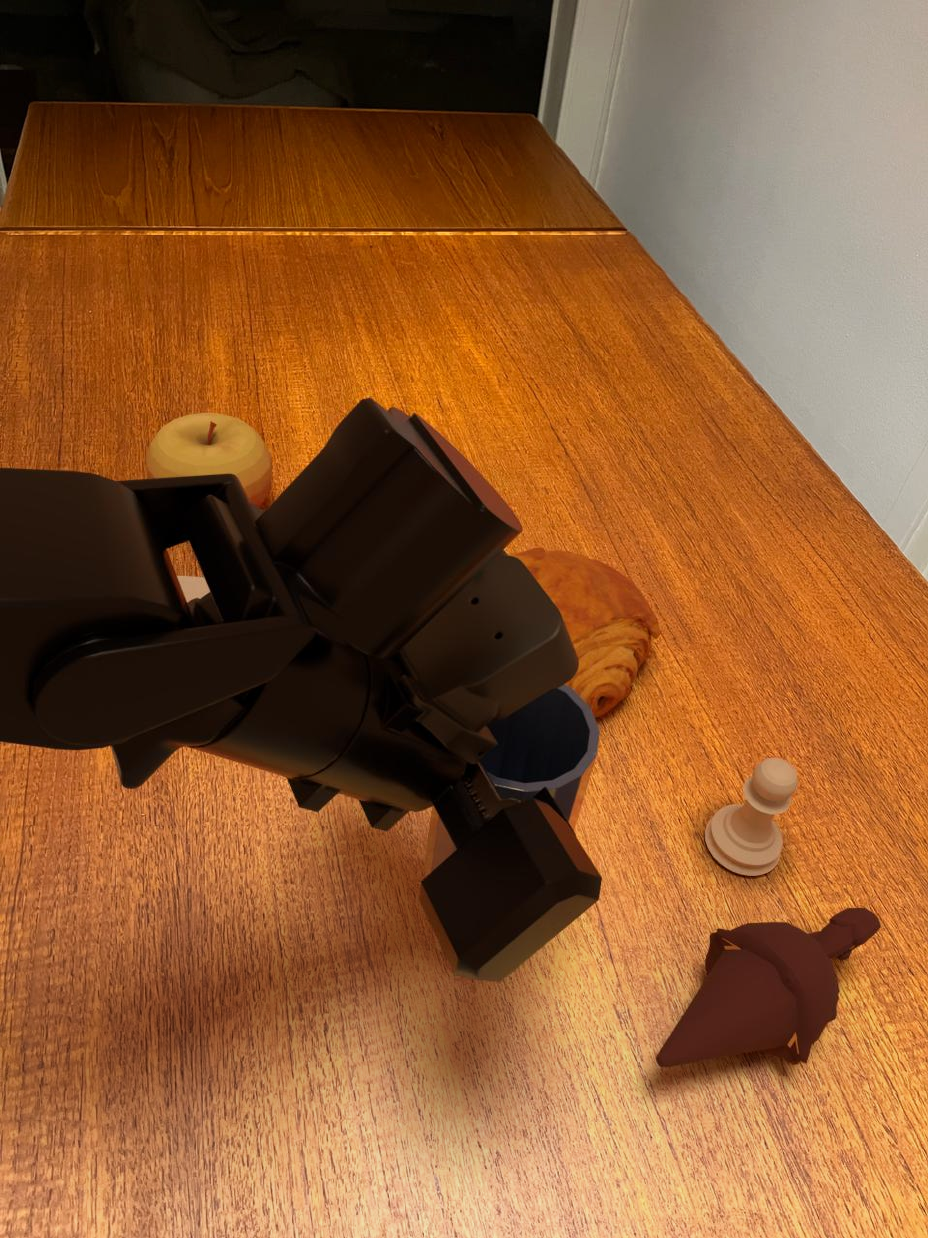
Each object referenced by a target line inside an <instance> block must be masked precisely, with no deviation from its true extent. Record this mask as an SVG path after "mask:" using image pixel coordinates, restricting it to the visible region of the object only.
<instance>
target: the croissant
mask: <svg viewBox="0 0 928 1238" xmlns="http://www.w3.org/2000/svg"><path fill="white" fill-rule="evenodd" d="M507 555H508V556H514V557H516V558H518V559H520V560H521V561H522V562H523V563H524V565H525V566H526V567H527V568H528V570H529V571H530V572H531V574H532V575H533V576H534V578H535V579H536V580H537V582H538V583H539V584H540V586H541V587H542V588H543V590H544V591H545V592H546V593H547V595H548V596H549V597H550V599H551V600H552V601H553V603H554V604H555V605H556V607H557V608H558V609H559V611H560V613H561V615H562V618H563V620H564V623H565V625H566V628H567V630H568V633H569V636H570V638H571V641H572V643H573V646H574V648H575V651H576V653H577V656H578V659H579V667H578V670H577V672H576V674H575V676H574V677H573V678H572V679H571V680H570V681H569V682H567V683H566V684H565V685H567V686H569V687H571V689H573V690H574V691H575V692H576V693H577V694H578V695H579V696H580V697H581V698H582V699H583V700H584V701H585V702H586V703H587V704H588V705H589V707H590V708H591V710H592V713H593V715H594V718H595V719H596V718H599V717H602V716H603V715H605V714H607V712H608V711H610V710H611V709H613V708H615V707H616V706H617V705H618V704H619V703H620V702H621V701H622V700H623V699H626V698H627V697H629V695H630V692H631V689H630V688H631V685H632V684H633V682H634V680H635V679H636V677H637V675H638V671H639V670H640V667H641V665H642V664H643V663H644V662H646V661H647V658H649V657H652V654H651V650H652V649H653V648H652V638H653V639H654V640H657V639H658V638H659V637H660V636H661V629H660V625H659V622H658V621H659V620H658V618H657V616H656V614H655V612H654V610H653V609H652V607H651V605H650V604H649V601H648V600H647V599H646V598H645V596H644V595H643V593H642V591H641V590H640V589H639V588H638V587H637V585H636V584H635V583H634V582H633V581H632V580H631V579H629V577H627V576H626V575H624V574H623V573H621V572H620V571H619V570H617V569H616V568H614V567H612V566H611V565H609V564H607V563H605V562H603V561H601V560H598V559H595V558H590V557H588V556H587V555H584V554H580V553H574V552H571V551H568V550H565V551H564V550H556V549H555V550H546V549H545V547H533V548H531V549H527V550H523V551H520V552H509V553H507Z"/></svg>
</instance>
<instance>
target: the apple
mask: <svg viewBox="0 0 928 1238" xmlns="http://www.w3.org/2000/svg"><path fill="white" fill-rule="evenodd" d="M272 458H273V457H272V453H271V451H270V450H269V448H268V446H267V445H266V443H265V442H264V440H263V439H262V437H261V435H260V434H259V432H258V431H257V430H256V429H254V427H252V426H251V425H249V424H248V423H246V422H245V421H243V420H242V419H240V418H237V417H235V416H231V415H228V414H226V413H216V412H200V413H189V414H185V415H183V416H180V417H177V418H174V419H172V420H171V421H170V422H168V423H166V424H165V425H164V426H162V427H161V428H160V429H159V430H158V431H157V432H156V434H155V436H154V437H153V439H152V441H151V442H150V444H149V446H148V448H147V451H146V453H145V463H146V464H145V468H146V477H147V478H146V479H154V478H168V477H183V476H198V475H213V474H234V475H236V476H237V477H238V479H239V480H240V482H241V484H242V486H243V488H244V490H245V492H246V494H247V496H248V498H249V500H250V502H251V503H252V504H253V505H255V506H257V507H259V508H260V509H261V507H262V505H263V504H264V503H265V501H266V499H267V498H268V496H269V494H270V493H271V491H272V482H273V468H274V467H273V466H274V465H273V459H272Z"/></svg>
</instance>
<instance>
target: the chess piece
mask: <svg viewBox="0 0 928 1238" xmlns="http://www.w3.org/2000/svg"><path fill="white" fill-rule="evenodd" d="M798 784H799V778H798V774H797V771H796V769H795V768H794V766H793V765H792V764H791V763H790V762H789V761H787V760H785V759H784V758H781V757H768V758H765V759H763V760H761V761H759V762H758V763H757V764H756V765H755V767H754V769H753V771H752V775H751V776H750V777H748V778H747V779H746V780H745V781H744V783H743V787H742V788H743V790H742V791H743V795H744V797H745V801H744V803H743V804H742V803H733V804H728V805H725V806H723V807H721V808H720V809H718V810H717V811H716V812H715V813H714V815H713V816H712V818H710V819H709V820H708V822H707V824H706V826H705V830H704V840H705V845H706V846H707V849H708V852H710V854H711V855H712V858H714V859H715V860H716V861H717V862H718V863H719V864H720V865H721V866H723V867H724V868H725V869H727V870H729V871H730V872H733V873H735V874H738V875H743V876H747V877H748V876H749V877H751V876H752V877H754V876H762V875H764V874H768V873H769V872H771V871H772V870H774V869H775V868H776V866H777V865H778V864H779V861H780V858H781V853H782V850H783V847H784V845H783V844H784V841H783V836H782V832H781V830H780V828H779V825H778V824H777V823H776V822H775V821H774V820H773V819H774V818H775V817H776V815H781V814H783V813H786V812H787V811H788V810H789V809H790V807H791V805H792V796H793V795H794V794H795V792H796V790H797V789H798Z"/></svg>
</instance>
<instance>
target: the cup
mask: <svg viewBox="0 0 928 1238" xmlns="http://www.w3.org/2000/svg"><path fill="white" fill-rule="evenodd" d="M486 727H488V728H489V730H490V732H491V733H492V735H493V737H494V738H495V740H496V741H497V743H498V744H497V745H496V746H495V747H494V748H493V749H492V750H491V751H490V752H489V753H488V754H486V755H485V756H484V757H483V758H482V759H481V760H480V762H481V764H482V765H483V767H484V769H485V771H486V772H487V774H488V776H489V777H490V779H491V781H492V782H493V784H494V786H495V787H496V789H497V791H498V792H499V794H500V796H501V797H502V799H507V798H515V799H517V800H519V801H521V802H523V801H525V800H528V799H531V798H532V797H534V796H535V795H536V794H537V793H538V792H539V791H540V790H541V789H543V788H544V787H546V788H547V789H548V791H549V792H550V794H551V795H552V797H553V799H554V800H555V802H556V803H557V805H558V806H559V808H560V810H561V811H562V813H563V814H564V816H565V817H566V819H567V821H568V822H569V824H570V825H571V827H572V828H573V830H574V831H575V829H576V826H577V822H578V819H579V815H580V812H581V808H582V805H583V802H584V799H585V796H586V792H587V789H588V785H589V782H590V779H591V775H592V773H593V769H594V766H595V763H596V760H597V756H598V752H599V751H598V749H599V743H600V742H599V741H600V729H599V725H598V723H597V721H596V718H594V715H593V713H592V710H591V708H590V707H589V705H588V704H587V703H586V702H585V701H584V700H583V699H582V698H581V697H580V696H579V695H578V694H577V693H576V692H575V691H574V690H573V689H571V687H569V686H567V685H565V684H564V685H563V686H561V687H559V688H554V689H551V690H549V691H548V692H546V693H544V694H543V695H541V696H540V697H538V698H536V699H535V700H533V701H531V702H530V703H528V704H527V705H525V706H523V707H522V708H520V709H518V710H517V711H515V712H514V713H512V714H510V715H509V716H507V717H505V718H504V719H502V720H500V721H497V722H493V723H488V724H487V725H486ZM466 783H467V782H466ZM470 791H471V790H470ZM475 798H476V797H474V799H475ZM478 806H480V805H478ZM484 813H485V812H484ZM484 813H483V814H484ZM456 850H457V849H456V847H455V845H454V843H453V841H452V839H451V837H450V836H449V834H448V832H447V830H446V828H445V826H444V824H443V823H442V821H441V819H440V817H439V815H438V813H437V811H436V809H435V808H434V806H432V807H431V810H430V817H429V827H428V835H427V843H426V849H425V851H426V852H425V860H424V865H425V873H424V874H425V877H427V876H428V875H429V874H430V873H431V872H432V871H433V870H434V869H435V868H437V867H438V866H439V865H440V864H441V863H442V862H443V861H444V860H446V859H447V858H448V857H449V856H450V855H451V854H452V853H453V852H455V851H456Z"/></svg>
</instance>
